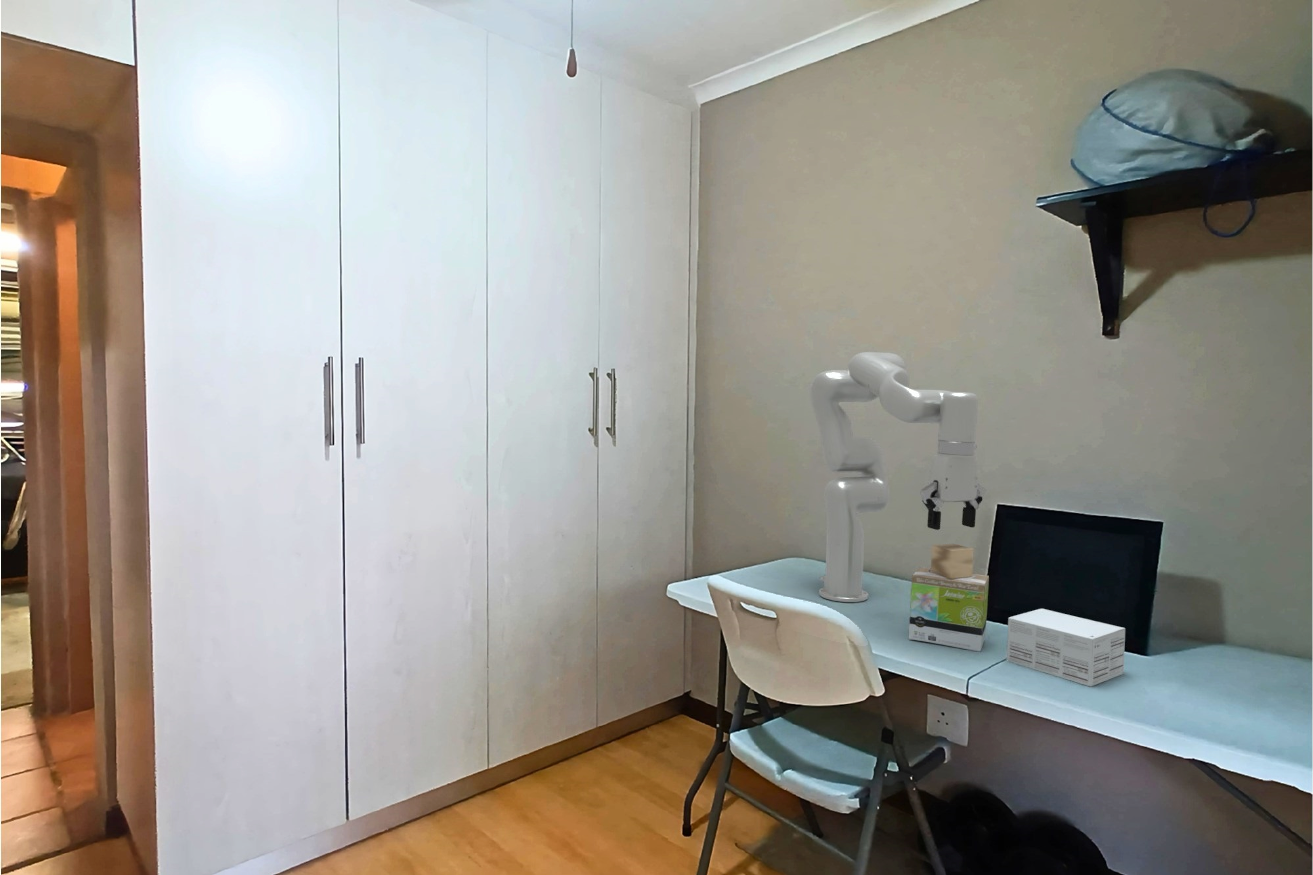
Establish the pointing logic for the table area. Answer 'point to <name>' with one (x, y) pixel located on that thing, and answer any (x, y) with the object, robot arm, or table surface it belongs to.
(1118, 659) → the supplement box
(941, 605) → the tea box
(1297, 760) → the table surface
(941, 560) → the oak block
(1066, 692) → the table surface
